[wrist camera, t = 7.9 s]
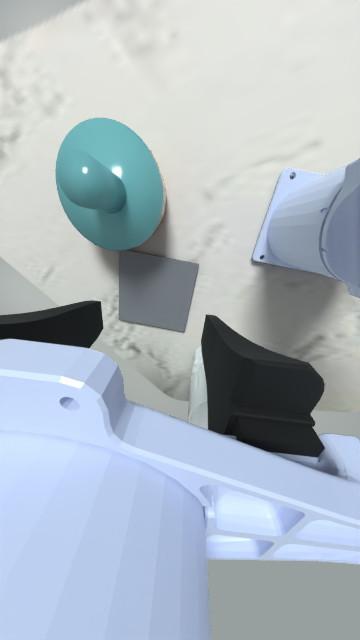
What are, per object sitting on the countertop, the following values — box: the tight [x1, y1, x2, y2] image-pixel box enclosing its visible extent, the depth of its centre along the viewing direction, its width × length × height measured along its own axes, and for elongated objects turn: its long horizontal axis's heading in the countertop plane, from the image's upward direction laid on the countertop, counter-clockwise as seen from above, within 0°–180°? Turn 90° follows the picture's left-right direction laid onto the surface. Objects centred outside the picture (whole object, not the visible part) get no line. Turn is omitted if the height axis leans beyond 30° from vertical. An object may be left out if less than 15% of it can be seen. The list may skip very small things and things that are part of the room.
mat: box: [119, 250, 199, 332], centre depth 22 cm, size 9×9×1 cm
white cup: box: [188, 345, 208, 429], centre depth 21 cm, size 8×8×10 cm
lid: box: [56, 118, 164, 251], centre depth 13 cm, size 9×9×5 cm
